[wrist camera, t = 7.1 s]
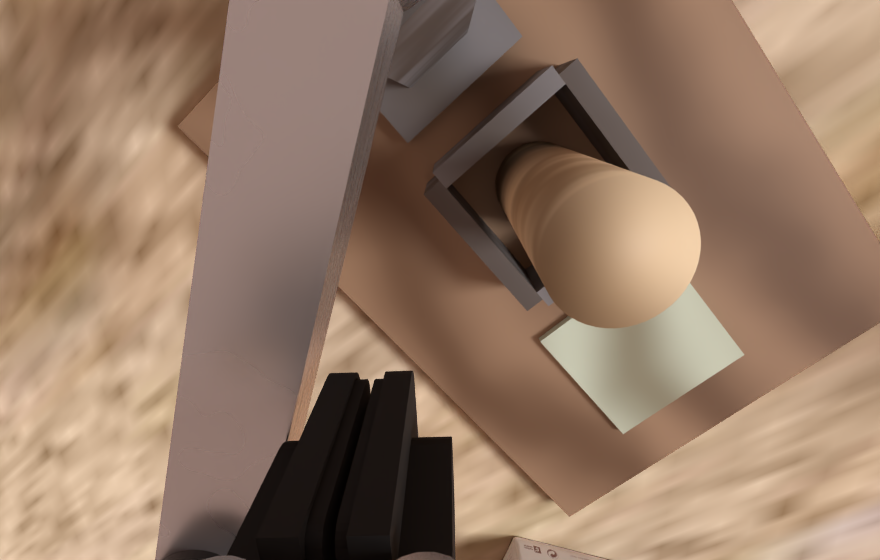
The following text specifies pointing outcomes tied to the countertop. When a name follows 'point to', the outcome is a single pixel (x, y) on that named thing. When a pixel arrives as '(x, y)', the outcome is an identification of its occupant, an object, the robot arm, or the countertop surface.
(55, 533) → the countertop surface
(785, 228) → the eye board
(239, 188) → the locking bar
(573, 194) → the oak peg
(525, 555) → the supplement box
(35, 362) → the countertop surface
